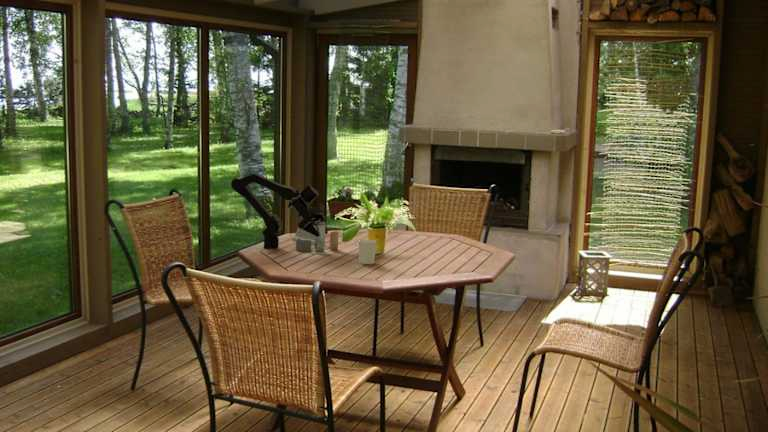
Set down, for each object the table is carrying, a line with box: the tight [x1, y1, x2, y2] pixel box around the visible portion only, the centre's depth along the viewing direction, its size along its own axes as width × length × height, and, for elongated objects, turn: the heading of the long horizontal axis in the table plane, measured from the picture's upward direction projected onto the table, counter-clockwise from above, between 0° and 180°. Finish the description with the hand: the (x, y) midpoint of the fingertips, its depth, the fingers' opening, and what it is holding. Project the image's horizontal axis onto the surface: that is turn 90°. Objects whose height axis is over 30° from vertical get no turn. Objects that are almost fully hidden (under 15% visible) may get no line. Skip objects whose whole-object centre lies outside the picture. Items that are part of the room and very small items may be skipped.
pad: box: [310, 249, 330, 255], centre depth 388 cm, size 8×8×1 cm
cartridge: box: [314, 221, 327, 253], centre depth 387 cm, size 5×5×14 cm
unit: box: [295, 238, 312, 252], centre depth 393 cm, size 7×4×6 cm, turn 97°
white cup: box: [358, 238, 377, 265], centre depth 370 cm, size 8×8×10 cm
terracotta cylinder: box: [328, 230, 339, 252], centre depth 396 cm, size 4×4×9 cm
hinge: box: [291, 225, 316, 247], centre depth 411 cm, size 17×5×10 cm, turn 51°
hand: (323, 234), depth 387 cm, fingers open, 9 cm apart
